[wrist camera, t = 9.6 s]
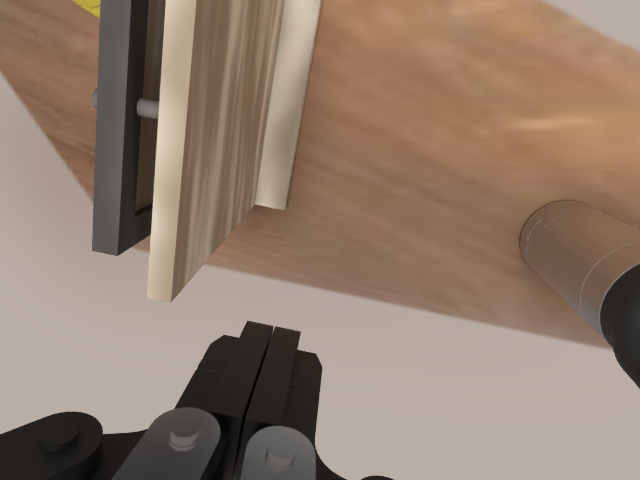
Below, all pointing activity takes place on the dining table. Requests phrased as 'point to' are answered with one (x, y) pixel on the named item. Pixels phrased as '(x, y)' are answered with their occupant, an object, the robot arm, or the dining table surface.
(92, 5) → the yellow horseshoe piece
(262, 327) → the robot arm
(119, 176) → the picture frame
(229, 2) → the wall board stand
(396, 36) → the dining table surface
